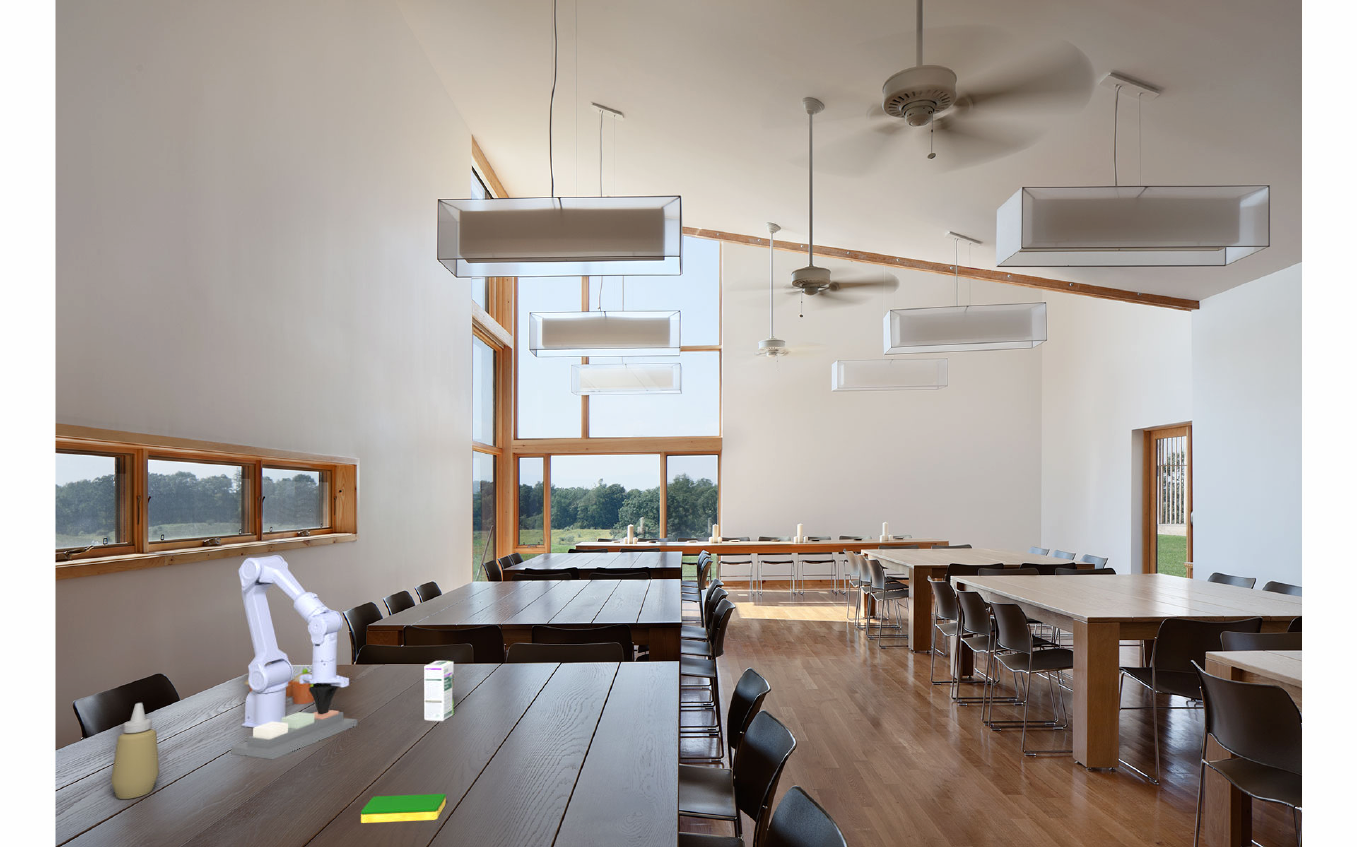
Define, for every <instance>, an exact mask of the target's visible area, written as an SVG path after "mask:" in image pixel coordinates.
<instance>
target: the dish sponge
mask: <svg viewBox="0 0 1357 847" xmlns="http://www.w3.org/2000/svg"><path fill="white" fill-rule="evenodd" d="M446 795H447V794H445V793H434V794H431V793H429V794H407V795H406V794H405V795H402V794H401V795H385V796H384V795H383V796H382V795H381V796H380V795H379V796H377V795H376V796H372V798H371V799H370V800H369V802H368V803H367V804H366V805H365V806H364V807H363V808H362V810H361V811H360V813H361V814H360V823H362V824H365V823H366V824H367V823H368V824H369V823H391V822H411V821H435V820H438V818H439V816H440V814H442V811H443V809H444V807H445V806H446V803H447V802H446V798H447V797H446Z"/></svg>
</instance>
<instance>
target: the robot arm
mask: <svg viewBox="0 0 1357 847" xmlns="http://www.w3.org/2000/svg"><path fill="white" fill-rule="evenodd" d="M237 571H238V575H239V581H240V584H241V591H240V592H241V597H242V598H241V599H242V601H243V606H244V610H245V616H246V620H247V625H248V628H249V634H250V637H251V638H250V639H251V642H252V646H253V652H254V655H255V657H254V658H253V659H252V661H251V662H250V663H249V664H248V666H247V667H248V678H247V680H248V682H249V685H250V687H251V689H252V691H251V692H250V691H249V693H247V694H248V695H247V696H246V698H245V708H244V722H243V723H242V724H241V727H246V728H254V727H257V726H260V725H263V724H266V723H269V722H272V721H273V722H281V718H283V717H286V705H287V704H286V701H287V697H286V687H287V686H288V682H290V681H291V680H293V677H294V667H293V664H291V662H290V660H289V657H288V654H287V653H285V652H284V651H282V650H280V649H279V647H278V643H277V639H276V638H277V637H276V634H275V633H276V632H275V629H274V625H273V621H272V617H271V616H272V615H271V612H270V608H269V603H268V598H267V595H266V593H267V592H268V590H269V588H271V587H272V586H273V585H274V584H275V585H276V586H277V587H278V588H279V589H280V590H282V591H283V593H285V595H287V596H288V597H289V598H290V599H291V600H292V601H293V610H295V611H296V612H297V613H298V614H299V615H300V616H301V618H303V620H304V621H305V622H306V623H307V624H308V625H307V631H308V633H309V634H310V635H309V636H310V641H311V643H312V666H311V673H312V675H308V674H305V675H302V676H300V684H304V683H309V684H313V687H310V688H309V691H310V693H311V694H312V696H313V698H314V700H315V701H314V702H315V706H316V710H317V711H318V714H325V713H328V711H329V710H330V706H331V704H332V700H333V698H334V695H335V693H336V692H337V690H338V688H339V687H340V688H345V687H348V686H349V685H350V678H349V677H345V676H341V675H338V674H337V661H338V659H337V656H338V652H337V651H338V632H339V631H340V630H341V629H342V627H343V618H342V615H341V614H340V612H339V611H337V610H332V609H330V608H328V606H326V605H325V604H324V603H323V602H322V601H321V600H320V598H318V597H319V596H318V595H317V593H313V592H312V591H308V592H307V591H306V590H305V589H304V587H303V586H302V585H301V584H300V583H299V581H298V580H297V579H296V578H295V577H294V575H293V574H292V572H290V570H289V564H288V562H287V561H285V560H284V558H283V557H282V556H281V555H278V554H275V555H270V556H260V557H248V558H246V559H245V560H243V562H242V563H241V566H240V567H239V568H238V570H237ZM266 664H267V665H266ZM249 685H248V686H249ZM317 711H316V712H317Z"/></svg>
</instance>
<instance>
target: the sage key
mask: <svg viewBox="0 0 1357 847" xmlns="http://www.w3.org/2000/svg"><path fill="white" fill-rule="evenodd" d="M314 716H315V714H312V713H310V712H301V711H298V712H295V713H292V714H289V715H285V717H283V718H281V723H288V728H295V729H298V728H301V727H304V726H306V725H309V724H312V723H314Z"/></svg>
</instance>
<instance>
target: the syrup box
mask: <svg viewBox="0 0 1357 847" xmlns="http://www.w3.org/2000/svg"><path fill="white" fill-rule="evenodd" d="M423 670H424V671H423V672H424V673H423V678H424V679H423V682H424V685H423V688H424V691H423V692H424V694H423V695H424V696H423V698H424V700H423V702H424V705H423V706H424V707H423V709H424V712H423V714H424V715H423V716H424V718H423V719H424V721H431V722H444V721H446V720H447V719H448V718H450V717H452V716H454V714H455V713H454V712H455V711H454V710H455V707H454V706H455V705H454V704H455V701H454V700H455V697H454V696H455V695H454V694H455V693H454V688H455V686H454V684H455V683H454V680H455V679H454V677H455V676H454V660H435V661H433V662H430V663H429V664H427V665H424V669H423Z"/></svg>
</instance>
